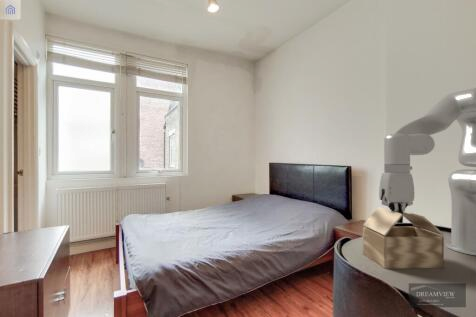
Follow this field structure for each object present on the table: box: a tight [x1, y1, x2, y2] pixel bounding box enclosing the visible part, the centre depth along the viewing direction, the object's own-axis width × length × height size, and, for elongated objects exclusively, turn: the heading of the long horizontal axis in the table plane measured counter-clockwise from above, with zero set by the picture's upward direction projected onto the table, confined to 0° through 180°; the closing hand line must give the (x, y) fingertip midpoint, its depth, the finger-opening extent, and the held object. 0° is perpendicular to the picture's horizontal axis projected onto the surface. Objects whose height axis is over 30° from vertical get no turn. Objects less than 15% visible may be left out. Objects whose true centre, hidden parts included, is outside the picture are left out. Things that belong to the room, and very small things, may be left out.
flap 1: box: [362, 206, 404, 236], centre depth 82 cm, size 9×12×1 cm
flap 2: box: [403, 210, 444, 236], centre depth 83 cm, size 9×12×1 cm
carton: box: [362, 226, 445, 270], centre depth 83 cm, size 20×12×10 cm, turn 94°
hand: (397, 222), depth 83 cm, fingers closed
